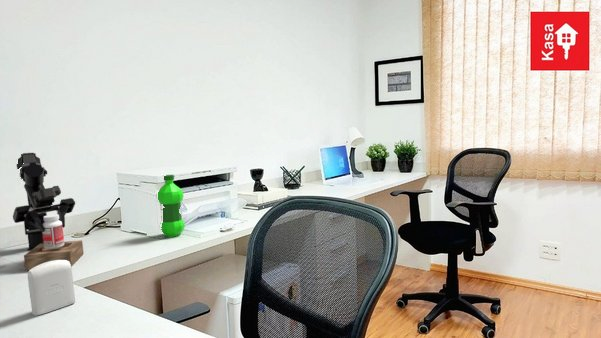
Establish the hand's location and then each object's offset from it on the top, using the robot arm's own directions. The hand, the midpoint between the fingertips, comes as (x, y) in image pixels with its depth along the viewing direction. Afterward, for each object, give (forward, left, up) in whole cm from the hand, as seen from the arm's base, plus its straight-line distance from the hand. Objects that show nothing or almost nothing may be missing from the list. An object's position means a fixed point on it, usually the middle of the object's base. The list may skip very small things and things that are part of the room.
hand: (54, 228), depth 151 cm
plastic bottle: (+36, +25, -12) cm, 46 cm away
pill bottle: (-1, +1, -7) cm, 7 cm away
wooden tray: (-1, +1, -12) cm, 12 cm away
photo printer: (+12, -41, -12) cm, 45 cm away
